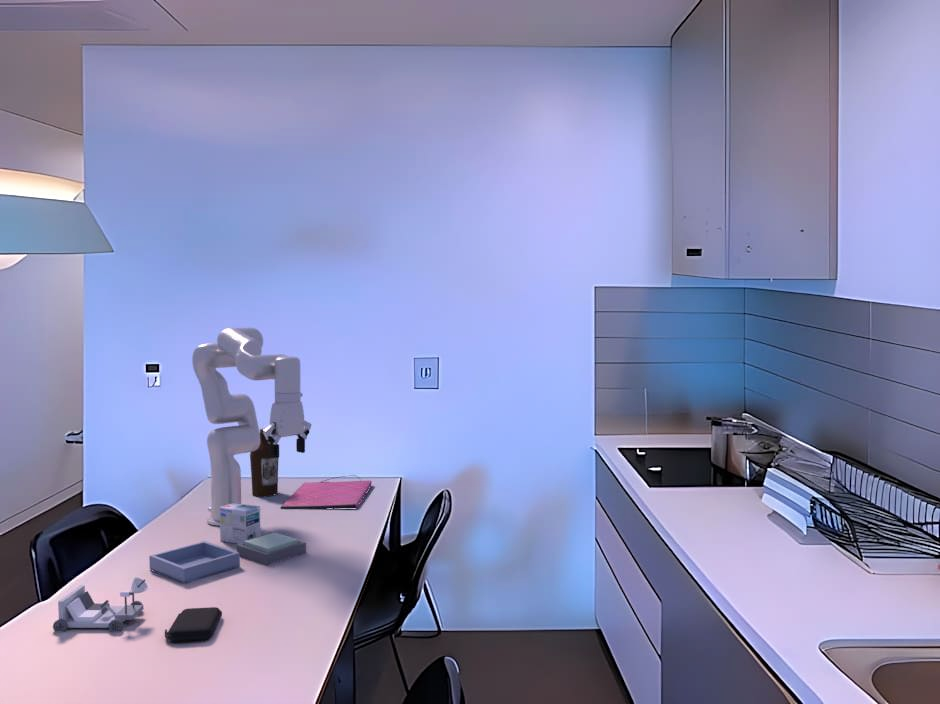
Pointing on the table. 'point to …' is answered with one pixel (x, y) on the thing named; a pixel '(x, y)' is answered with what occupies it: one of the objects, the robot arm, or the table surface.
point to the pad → (270, 542)
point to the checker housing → (271, 553)
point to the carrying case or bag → (194, 625)
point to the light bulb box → (239, 523)
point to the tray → (194, 561)
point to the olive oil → (264, 469)
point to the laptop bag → (328, 495)
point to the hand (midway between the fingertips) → (288, 454)
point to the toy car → (97, 610)
